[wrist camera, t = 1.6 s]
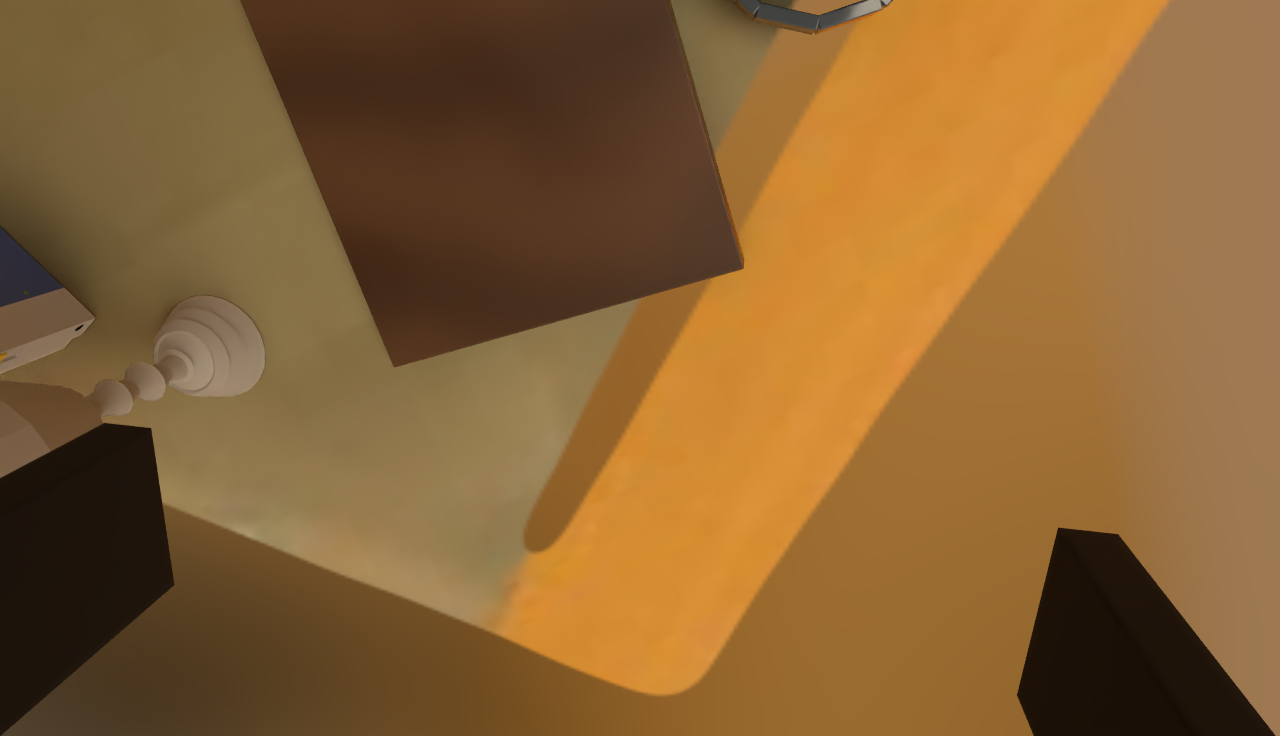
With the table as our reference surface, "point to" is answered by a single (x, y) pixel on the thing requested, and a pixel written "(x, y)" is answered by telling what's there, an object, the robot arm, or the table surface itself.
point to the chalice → (137, 380)
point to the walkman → (33, 309)
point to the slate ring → (809, 15)
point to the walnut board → (501, 157)
